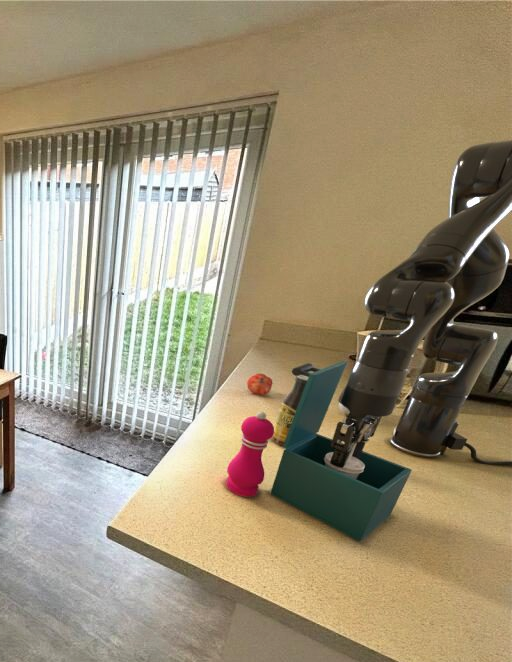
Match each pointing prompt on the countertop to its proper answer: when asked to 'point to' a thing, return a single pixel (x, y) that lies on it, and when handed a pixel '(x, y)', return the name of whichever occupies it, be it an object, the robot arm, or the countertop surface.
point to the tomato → (259, 384)
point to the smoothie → (347, 465)
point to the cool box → (339, 487)
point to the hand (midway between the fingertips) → (344, 460)
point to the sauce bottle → (288, 410)
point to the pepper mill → (250, 456)
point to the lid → (313, 400)
